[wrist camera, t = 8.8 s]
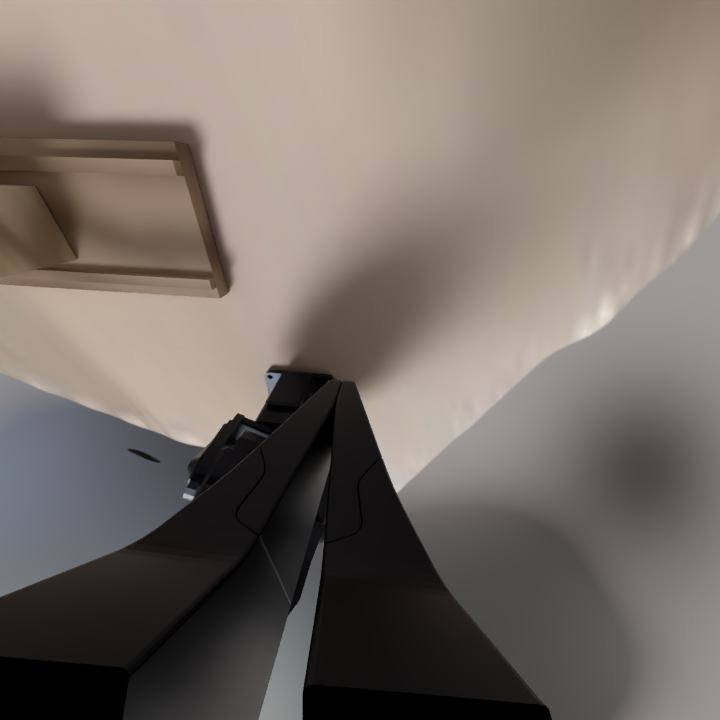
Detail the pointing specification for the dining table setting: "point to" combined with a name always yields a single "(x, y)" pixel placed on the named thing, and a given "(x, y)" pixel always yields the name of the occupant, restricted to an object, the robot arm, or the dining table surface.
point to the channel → (119, 215)
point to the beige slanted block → (28, 232)
